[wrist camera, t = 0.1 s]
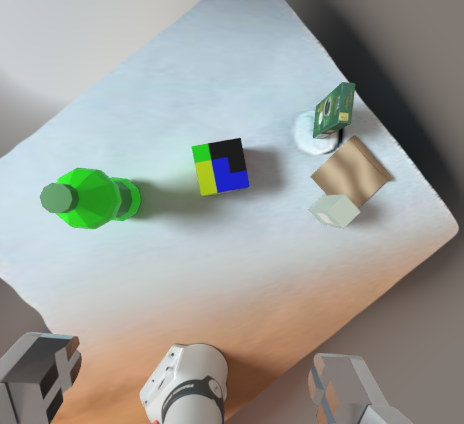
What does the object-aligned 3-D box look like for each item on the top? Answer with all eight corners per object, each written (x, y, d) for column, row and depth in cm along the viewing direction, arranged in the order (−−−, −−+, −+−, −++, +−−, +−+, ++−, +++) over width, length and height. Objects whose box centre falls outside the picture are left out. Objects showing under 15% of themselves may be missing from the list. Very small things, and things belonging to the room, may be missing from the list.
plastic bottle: (153, 187, 59) (105, 177, 34) (135, 227, 59) (76, 247, 34) (113, 170, 59) (35, 147, 34) (95, 211, 59) (5, 218, 34)
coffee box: (323, 140, 61) (352, 124, 48) (312, 139, 61) (337, 122, 48) (326, 107, 61) (356, 81, 48) (315, 106, 61) (342, 79, 48)
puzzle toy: (244, 188, 61) (249, 186, 51) (203, 196, 60) (201, 195, 50) (236, 148, 60) (240, 137, 50) (195, 155, 60) (191, 146, 50)
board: (347, 217, 62) (351, 217, 61) (310, 176, 61) (313, 175, 60) (387, 178, 62) (392, 178, 61) (351, 137, 61) (355, 135, 60)
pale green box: (320, 223, 62) (343, 228, 51) (307, 209, 62) (327, 211, 51) (335, 209, 62) (360, 211, 51) (322, 195, 62) (344, 194, 51)
